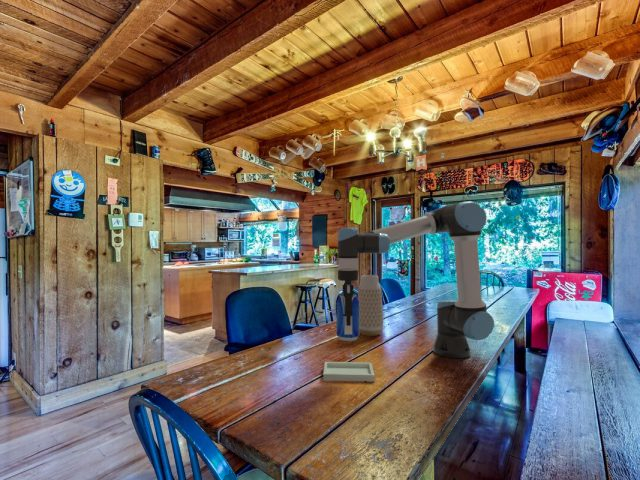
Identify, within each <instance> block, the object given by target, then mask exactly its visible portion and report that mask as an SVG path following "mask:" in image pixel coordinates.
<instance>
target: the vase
mask: <svg viewBox="0 0 640 480" xmlns="http://www.w3.org/2000/svg"><path fill="white" fill-rule="evenodd" d="M382 295H383V293H382V286H381V285H380V282H379V276H378V275H375V274H364V275H363V274H362V275H361V279H360V284H359V285H358V293H357V298H358V300H359V334H361V335H363V336H367V337H375V336H378V335H380V334H381V332H382V331H383V326H384V315H383V314H384V313H383V296H382Z"/></svg>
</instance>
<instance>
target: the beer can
mask: <svg viewBox="0 0 640 480" xmlns="http://www.w3.org/2000/svg"><path fill="white" fill-rule="evenodd" d="M352 313H353V315H352V334H345V316H343V314H345V297H344V296H343V293H340V294H339V295H338V297H337V300H336V336H337V337H338V339H339V340H340V341H344V342H345V341H346V342H352V341H357V340H358V338H359V336H360V332H359V300H358V294H356V293H353V297H352Z"/></svg>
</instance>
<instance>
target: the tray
mask: <svg viewBox="0 0 640 480" xmlns="http://www.w3.org/2000/svg"><path fill="white" fill-rule="evenodd" d="M322 374H323V376H322V377H323V379H322V380H323V381H324V382H327V381H328V382H364V381H367V383H368V382H371V383H373V382H375V377H376V376H375V371H374V368H373V364H372V362H362V361H361V362H357V361H355V362H354V361H353V362H351V361H350V362H349V361H344V362H343V361H325V362H324V366H323V373H322Z"/></svg>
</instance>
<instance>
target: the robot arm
mask: <svg viewBox="0 0 640 480" xmlns="http://www.w3.org/2000/svg"><path fill="white" fill-rule="evenodd" d="M486 223H487V213H486V211H485V209H484V208H483V206H481V205H480V204H479V203H477V202H474V201H462V202H457V203H454V204H453V203H452V204H447V205H444V206H441V207H440V208H437V209H434V210H431V211H428V212H425V213H424V214H423V215H422V216H419V217H416V218H412V219H408V220H405V221H401V222H399V223H394V224H392V225H388V226H384V227H382V228H377V229H373V230H371V231H367V232H364V233H361V232H359V229H358V228H357V227H341V228H339V229H338V232H337V240H336V241H337V260H336V261H335V263H336V264H337V268H338V269H339V270H338V271H337V280H339V281H341V282H344V283H343V284H342V294H343V296H344V297H345V314H343V316H345V334H352V315H353V313H352V297H353V294H354V284H352V281H353V282H355V281H358V280H359V270H358V268H359V254H386V253H388V252H389V250H390V248H391V247H390V246H391V245H393V244H395V243H398V242H403V241H405V240H409V239H412V238H416V237H420V236H423V235H427V234H429V235H435V234H440V233H449V238H450V239H451V240H452V241H453V246H454V259H455V260H454V261H455V273H456V285H457V286H456V289H457V299H446V300H439V301H438V302H437V307H436V312H437V314H436V315H437V316H436V317H437V318H436V319H437V320H436V321H437V322H436V323H437V327H436V328H437V332H436V333H437V334H436V336H435V337H436V338H435V340H434V342H433V346H432V347H433V348H432V349H433V352H434V353H435V354H436V355H438V356H441V357H444V358H449V359H465V358H468V357H471V348H470V344H469V341H468V340H467V339H471V340H474V341H483V340H485V339H487V338H488V337H489V336H490V335H491V334H492V333H493V331H494V328H495V320H494V317H493V316H492V315H491V314H490V312H488V311H487V310H488V309H487V303H486V302H485V301H484V300H482V287H481V286H482V285H481V274H480V260H479V259H480V258H479V246H478V240H479V238H480V237H481V236H482V230H483V228H484V227H485V225H486Z"/></svg>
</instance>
